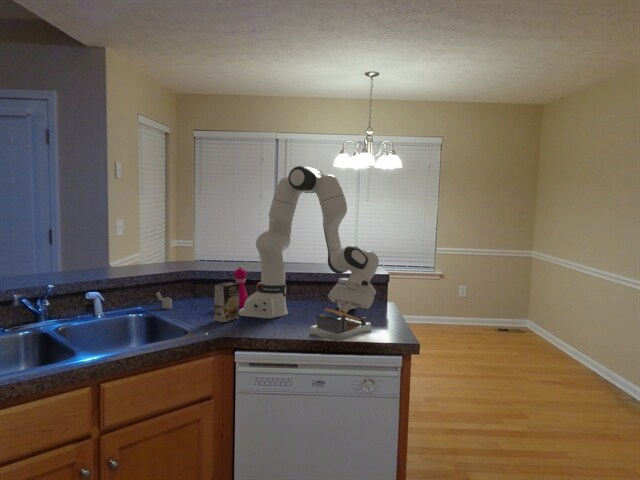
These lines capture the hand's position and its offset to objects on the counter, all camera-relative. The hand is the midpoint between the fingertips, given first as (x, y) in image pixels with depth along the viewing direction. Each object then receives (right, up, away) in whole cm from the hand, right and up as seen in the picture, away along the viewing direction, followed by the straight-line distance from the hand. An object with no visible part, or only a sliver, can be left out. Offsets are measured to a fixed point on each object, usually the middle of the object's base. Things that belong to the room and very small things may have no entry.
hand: (342, 312), depth 178 cm
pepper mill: (-49, -3, +39) cm, 63 cm away
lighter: (-83, -3, +30) cm, 88 cm away
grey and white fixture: (0, -8, +1) cm, 8 cm away
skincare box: (+4, -5, +41) cm, 41 cm away
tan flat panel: (+1, -2, +2) cm, 3 cm away
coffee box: (-50, -6, +13) cm, 52 cm away
